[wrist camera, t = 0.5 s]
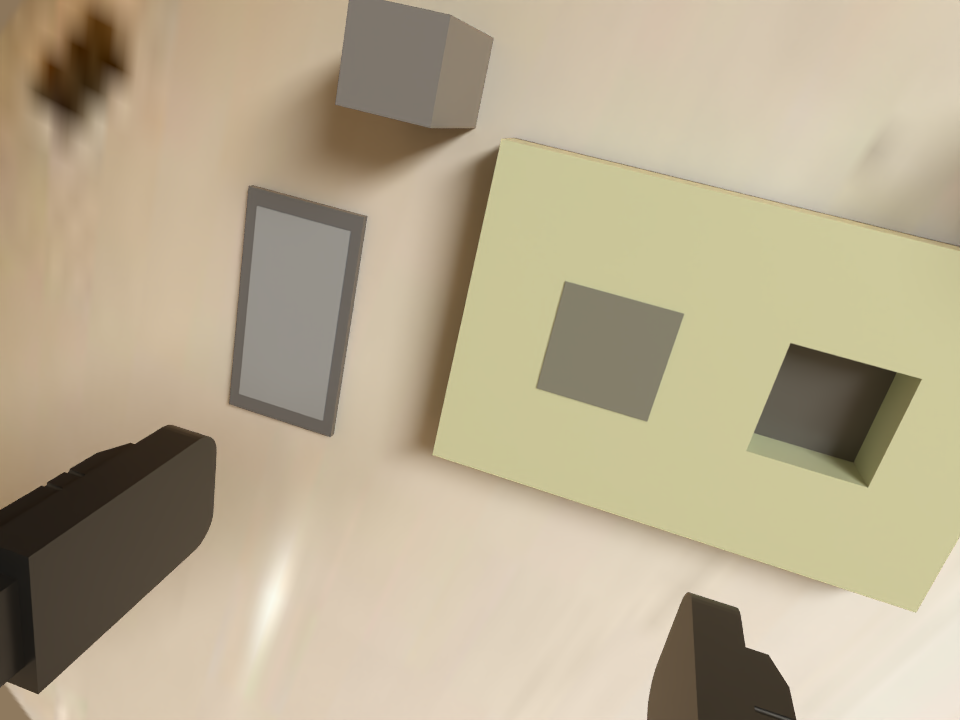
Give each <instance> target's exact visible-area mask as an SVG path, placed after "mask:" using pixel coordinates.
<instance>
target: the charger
mask: <svg viewBox="0 0 960 720" xmlns="http://www.w3.org/2000/svg"><path fill="white" fill-rule="evenodd" d="M493 39H494V38H492V37H491V36H489V35H487V34H485V33H483V32H481V31H480V30H478V29H476V28H474V27H472V26H470V25H468V24H467V23H465V22H463V21H461V20H459V19H457V18H456V17H454V16H452V15H449V14H444V13H440V12H435V11H431V10H426V9H422V8H417V7H412V6H408V5H403V4H399V3H394V2H390V1H385V0H349V4H348V11H347V19H346V27H345V34H344V42H343V50H342V57H341V65H340V73H339V80H338V88H337V96H336V103H335V105H339V106H343V107H347V108H351V109H355V110H359V111H363V112H367V113H371V114H375V115H379V116H383V117H387V118H391V119H395V120H400V121H404V122H408V123H412V124H416V125H420V126H424V127H428V128H475V127H476V122H477V118H478V113H479V108H480V103H481V98H482V93H483V88H484V83H485V78H486V73H487V69H488V64H489V59H490V54H491V49H492V44H493Z"/></svg>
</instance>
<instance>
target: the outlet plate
mask: <svg viewBox="0 0 960 720" xmlns="http://www.w3.org/2000/svg"><path fill="white" fill-rule="evenodd" d="M432 455H434V456H437V457H440V458H443V459H446V460H449V461H452V462H455V463H458V464H461V465H464V466H468V467H471V468H474V469H477V470H480V471H483V472H486V473H489V474H492V475H495V476H498V477H501V478H504V479H507V480H511V481H514V482H517V483H520V484H523V485H526V486H529V487H532V488H535V489H538V490H541V491H544V492H547V493H550V494H553V495H557V496H560V497H563V498H566V499H569V500H572V501H575V502H578V503H581V504H584V505H587V506H590V507H593V508H596V509H599V510H603V511H606V512H609V513H612V514H615V515H618V516H621V517H624V518H627V519H630V520H633V521H636V522H639V523H642V524H646V525H649V526H652V527H655V528H658V529H661V530H664V531H667V532H670V533H673V534H676V535H679V536H682V537H685V538H688V539H692V540H695V541H698V542H701V543H704V544H707V545H710V546H713V547H716V548H719V549H722V550H725V551H728V552H731V553H735V554H738V555H741V556H744V557H747V558H750V559H753V560H756V561H759V562H762V563H765V564H768V565H771V566H774V567H777V568H781V569H784V570H787V571H790V572H793V573H796V574H799V575H802V576H805V577H808V578H811V579H814V580H817V581H820V582H824V583H827V584H830V585H833V586H836V587H839V588H842V589H845V590H848V591H851V592H854V593H857V594H860V595H863V596H866V597H870V598H873V599H876V600H879V601H882V602H885V603H888V604H891V605H894V606H897V607H900V608H903V609H906V610H909V611H912V612H917V610H918V608H919V607H920V605H921V603H922V601H923V600H924V598H925V596H926V594H927V593H928V591H929V589H930V587H931V586H932V584H933V582H934V581H935V579H936V577H937V575H938V574H939V572H940V570H941V568H942V567H943V565H944V563H945V561H946V560H947V558H948V556H949V554H950V553H951V551H952V549H953V547H954V546H955V544H956V542H957V540H958V539H959V537H960V247H959V246H955V245H951V244H947V243H943V242H939V241H935V240H930V239H926V238H922V237H918V236H914V235H910V234H906V233H902V232H898V231H894V230H890V229H885V228H881V227H877V226H873V225H869V224H865V223H861V222H857V221H853V220H849V219H845V218H840V217H836V216H832V215H828V214H824V213H820V212H816V211H812V210H808V209H804V208H800V207H795V206H791V205H787V204H783V203H779V202H775V201H771V200H767V199H763V198H759V197H755V196H751V195H746V194H742V193H738V192H734V191H730V190H726V189H722V188H718V187H714V186H710V185H706V184H701V183H697V182H693V181H689V180H685V179H681V178H677V177H673V176H669V175H665V174H661V173H656V172H652V171H648V170H644V169H640V168H636V167H632V166H628V165H624V164H620V163H616V162H611V161H607V160H603V159H599V158H595V157H591V156H587V155H583V154H579V153H575V152H571V151H566V150H562V149H558V148H554V147H550V146H546V145H542V144H538V143H534V142H530V141H526V140H521V139H517V138H505V139H501V143H500V147H499V152H498V157H497V161H496V166H495V170H494V175H493V180H492V184H491V189H490V193H489V198H488V202H487V207H486V212H485V216H484V221H483V225H482V230H481V234H480V239H479V244H478V248H477V253H476V257H475V262H474V266H473V271H472V276H471V280H470V285H469V289H468V294H467V298H466V303H465V308H464V312H463V317H462V321H461V326H460V330H459V335H458V340H457V344H456V349H455V353H454V358H453V362H452V367H451V372H450V376H449V381H448V385H447V390H446V394H445V399H444V404H443V408H442V413H441V417H440V422H439V426H438V431H437V436H436V440H435V445H434V449H433V454H432Z"/></svg>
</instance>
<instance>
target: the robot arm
mask: <svg viewBox="0 0 960 720" xmlns="http://www.w3.org/2000/svg"><path fill="white" fill-rule="evenodd" d="M215 470H216V444H215V441H214V440H213V439H212V438H211V437H208V436H205V435H202V434H199V433H196V432H192V431H189V430H186V429H183V428H180V427H177V426H174V425H167V426H164V427H162V428H161V429H159V430H157V431H156V432H154V433H152V434H151V435H149V436H148V437H146V438H144V439H143V440H141V441H139V442H138V443H136V444H132V443H129V444H125V445H122V446H119V447H115V448H112V449H109V450H105V451H102V452H99V453H96V454H94V455H93V456H91V457H89V458H88V459H86V460H84V461H83V462H81V463H79V464H77V465H76V466H74V467H72V468H71V469H70V471H69V472H68V473H65V472H64V473H62V474H61V475H59V476H57V477H55V478H54V479H52V480H50V481H49V482H47V485H46V486H45V487H44V486H40V487H39V488H37V489H35V490H33V491H32V492H30V493H28V494H27V495H25V496H23V497H22V498H20V499H18V500H17V501H15V502H13V503H11V504H10V505H8V506H6V507H5V508H3V509H1V510H0V687H1V686H2V685H4V684H5V683H6V682H9V683H12V684H14V685H17V686H19V687H22V688H24V689H27V690H29V691H31V692H34V693H36V694H39V693H40V692H41V691H42V690H43V689H44V688H46V687H47V686H48V685H49V684H50V683H51V682H52V681H53V680H54V679H55V678H56V677H58V676H59V675H60V674H61V673H62V672H63V671H64V670H65V669H66V668H67V667H68V666H69V665H71V664H72V663H73V662H74V661H75V660H76V659H77V658H78V657H79V656H80V655H81V654H83V653H84V652H85V651H86V650H87V649H88V648H89V647H90V646H91V645H92V644H93V643H94V642H96V641H97V640H98V639H99V638H100V637H101V636H102V635H103V634H104V633H105V632H106V631H108V630H109V629H110V628H111V627H112V626H113V625H114V624H115V623H116V622H117V621H118V620H120V619H121V618H122V617H123V616H124V615H125V614H126V613H127V612H128V611H129V610H130V609H131V608H133V607H134V606H135V605H136V604H137V603H138V602H139V601H140V600H141V599H142V598H143V597H145V596H146V595H147V594H148V593H149V592H150V591H151V590H152V589H153V588H154V587H155V586H156V585H158V584H159V583H160V582H161V581H162V580H163V579H164V578H165V577H166V576H167V575H168V574H170V573H171V572H172V571H173V570H174V569H175V568H176V567H177V566H178V565H179V564H180V563H181V562H183V561H184V560H185V559H186V558H187V557H188V556H189V555H190V554H191V553H192V552H193V551H195V550H196V548H197V547H198V546H199V545H200V544H201V542H202V541H203V539H204V538H205V536H206V534H207V532H208V530H209V527H210V525H211V521H212V517H213V508H214V489H215ZM647 720H796V716H795V712H794V707H793V703H792V698H791V693H790V689H789V686H788V685H787V683H786V682H785V680H784V678H783V677H782V675H781V674H780V672H779V671H778V669H777V668H776V666H775V664H774V663H773V661H772V660H771V658H770V657H769V655H767V654H764V653H761V652H758V651H755V650H752V649H749V648H746V647H745V641H744V635H743V628H742V621H741V615H740V611H739V609H738V608H736V607H733V606H730V605H727V604H724V603H721V602H717V601H714V600H711V599H708V598H705V597H702V596H699V595H696V594H693V593H689V592H688V593H686V594H685V596H684V598H683V599H682V602H681V604H680V607H679V609H678V612H677V614H676V617H675V620H674V622H673V625H672V627H671V630H670V632H669V635H668V638H667V640H666V643H665V645H664V648H663V651H662V653H661V656H660V658H659V661H658V664H657V666H656V669H655V672H654V676H653V680H652V684H651V689H650V694H649V701H648V713H647Z"/></svg>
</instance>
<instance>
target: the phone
mask: <svg viewBox="0 0 960 720" xmlns="http://www.w3.org/2000/svg"><path fill="white" fill-rule="evenodd" d="M366 221H367V216H364V215H361V214H357V213H353V212H350V211H346V210H342V209H339V208H335V207H331V206H328V205H324V204H320V203H316V202H313V201H309V200H305V199H302V198H298V197H294V196H291V195H287V194H283V193H280V192H276V191H272V190H268V189H265V188H261V187H257V186H254V185H253V186H249V189H248V200H247V212H246V223H245V234H244V245H243V256H242V267H241V279H240V290H239V301H238V312H237V323H236V334H235V346H234V357H233V368H232V379H231V390H230V401H229V404H231V405H234V406H237V407H240V408H243V409H246V410H249V411H252V412H255V413H258V414H261V415H264V416H268V417H271V418H274V419H277V420H280V421H283V422H286V423H289V424H292V425H295V426H298V427H301V428H304V429H307V430H311V431H314V432H317V433H320V434H323V435H326V436H329V437H331V436H332V435H333V434H334V429H335V422H336V416H337V409H338V403H339V397H340V390H341V384H342V377H343V371H344V364H345V358H346V351H347V345H348V338H349V332H350V325H351V319H352V312H353V306H354V299H355V293H356V286H357V280H358V273H359V267H360V260H361V254H362V247H363V241H364V234H365V228H366Z"/></svg>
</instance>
